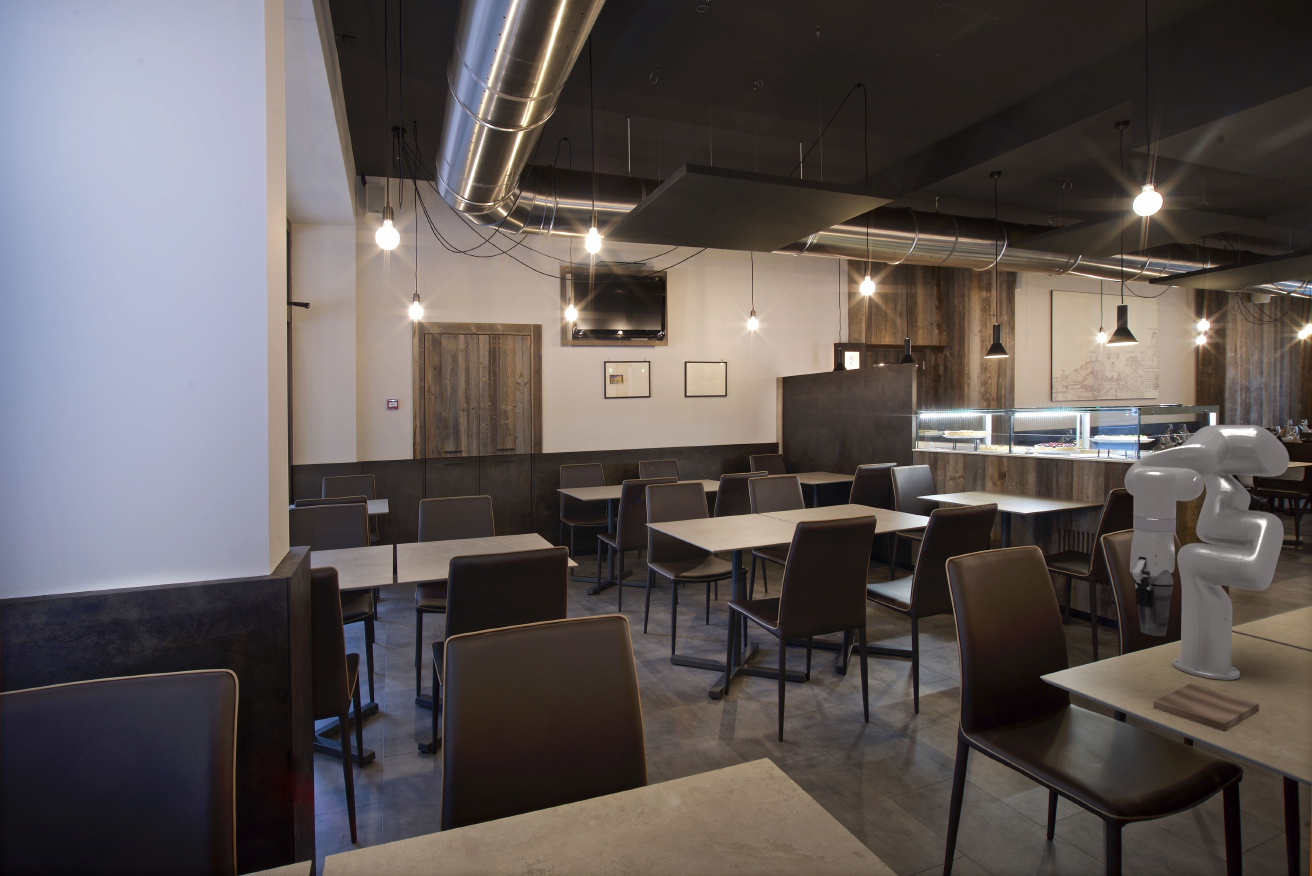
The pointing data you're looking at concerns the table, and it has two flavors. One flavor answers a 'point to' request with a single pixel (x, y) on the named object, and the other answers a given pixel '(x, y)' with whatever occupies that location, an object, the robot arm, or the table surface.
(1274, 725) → the table surface
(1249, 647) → the table surface
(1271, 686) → the table surface
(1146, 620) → the beverage cup
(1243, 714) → the serving board
